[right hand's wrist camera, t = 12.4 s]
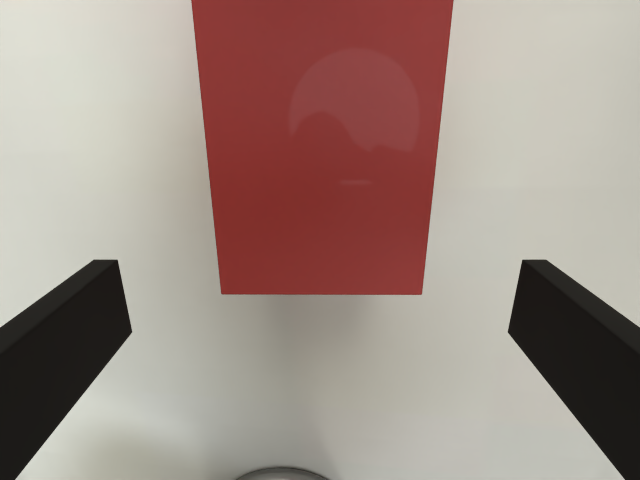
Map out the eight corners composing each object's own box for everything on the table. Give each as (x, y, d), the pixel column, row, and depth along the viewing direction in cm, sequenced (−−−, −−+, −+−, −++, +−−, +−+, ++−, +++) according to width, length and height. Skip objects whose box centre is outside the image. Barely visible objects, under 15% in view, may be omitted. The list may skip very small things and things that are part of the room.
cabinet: (239, -26, 25) (178, -116, 14) (404, -26, 25) (466, -116, 14) (255, 226, 31) (220, 295, 20) (387, 226, 31) (422, 295, 20)
